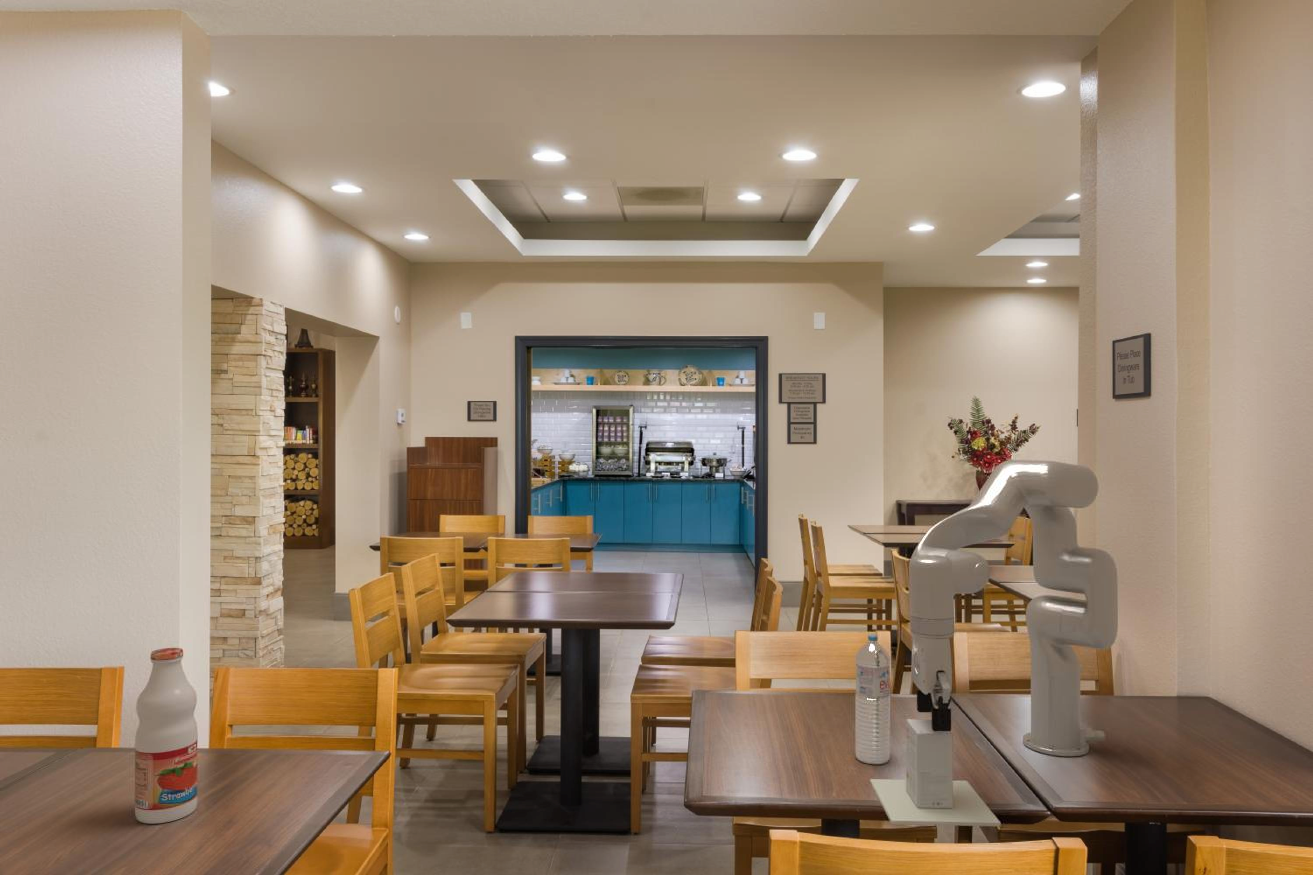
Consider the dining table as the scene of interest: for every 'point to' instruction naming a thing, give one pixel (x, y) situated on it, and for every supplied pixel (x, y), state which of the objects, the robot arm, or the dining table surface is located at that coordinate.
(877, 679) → the water bottle
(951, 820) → the mat
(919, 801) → the small box
